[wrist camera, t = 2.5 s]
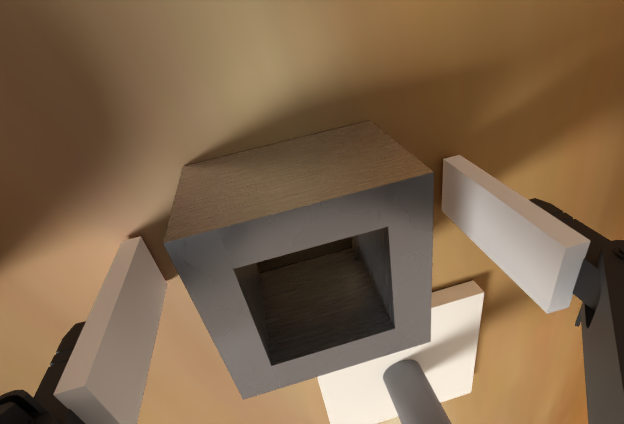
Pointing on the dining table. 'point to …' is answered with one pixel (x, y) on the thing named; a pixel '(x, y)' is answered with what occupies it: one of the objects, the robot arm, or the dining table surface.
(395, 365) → the peg stand
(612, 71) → the dining table surface
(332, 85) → the dining table surface
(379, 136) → the grey square storage bin
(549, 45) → the dining table surface
